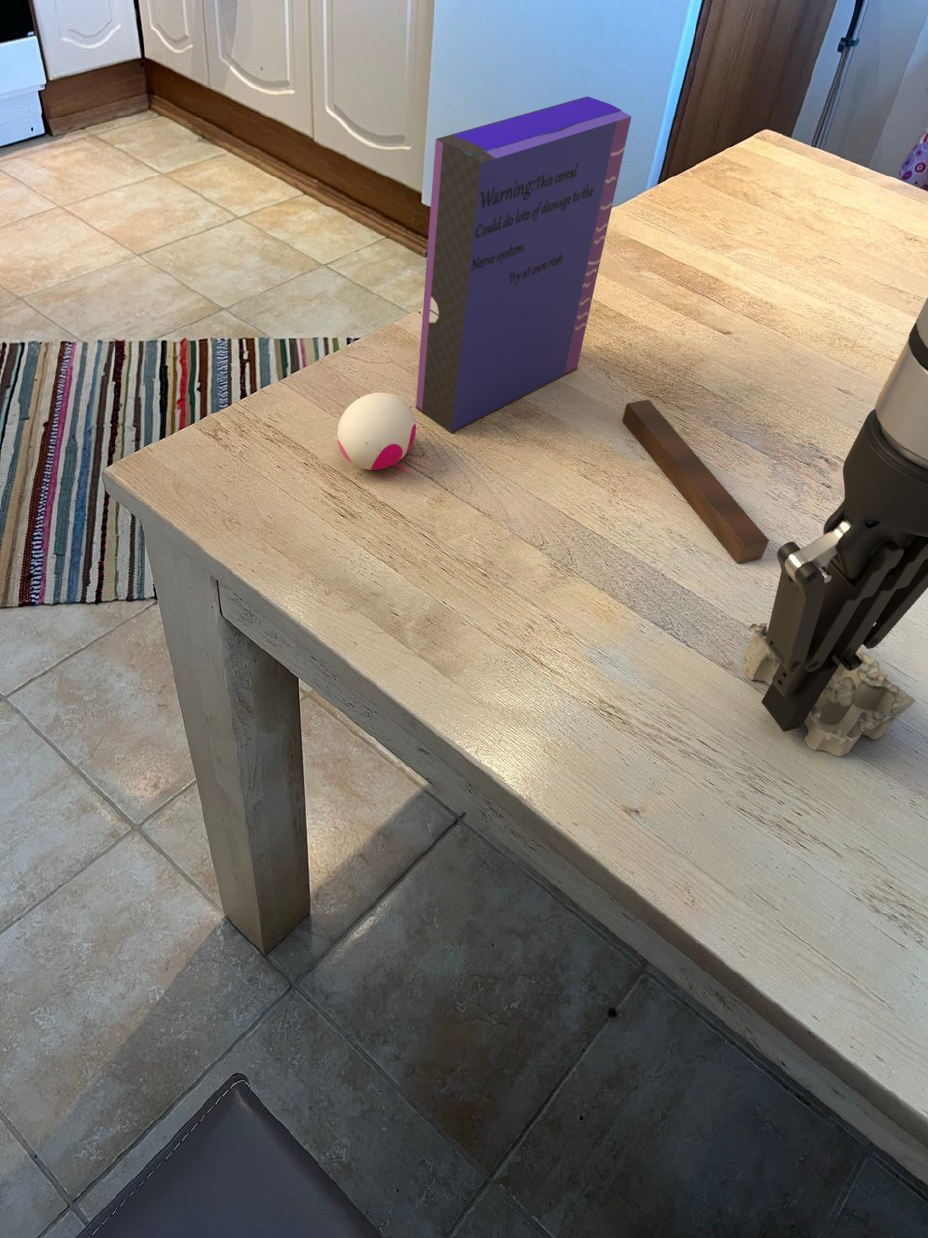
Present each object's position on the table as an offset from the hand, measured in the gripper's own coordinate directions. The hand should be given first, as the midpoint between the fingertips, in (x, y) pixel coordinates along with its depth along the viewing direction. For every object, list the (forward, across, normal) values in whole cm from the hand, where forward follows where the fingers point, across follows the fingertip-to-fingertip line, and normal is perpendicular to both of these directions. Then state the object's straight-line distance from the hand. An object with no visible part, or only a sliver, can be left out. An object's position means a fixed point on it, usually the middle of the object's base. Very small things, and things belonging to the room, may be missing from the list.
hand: (781, 714), depth 65 cm
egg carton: (+2, -4, -2) cm, 5 cm away
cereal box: (+2, +2, -43) cm, 43 cm away
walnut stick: (+2, -8, -25) cm, 26 cm away
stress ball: (+2, +17, -35) cm, 39 cm away
